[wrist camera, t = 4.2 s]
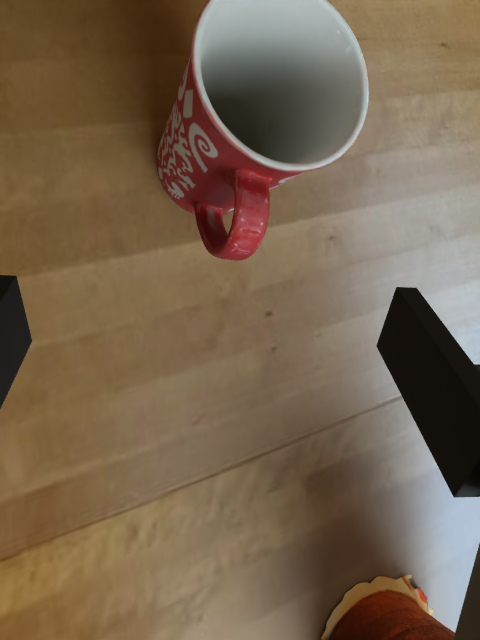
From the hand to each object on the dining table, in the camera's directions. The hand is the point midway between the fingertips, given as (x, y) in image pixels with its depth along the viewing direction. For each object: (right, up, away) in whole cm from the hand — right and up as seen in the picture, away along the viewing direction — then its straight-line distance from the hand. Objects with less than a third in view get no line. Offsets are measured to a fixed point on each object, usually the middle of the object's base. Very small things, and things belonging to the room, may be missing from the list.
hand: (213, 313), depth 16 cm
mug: (-2, +9, +17) cm, 20 cm away
